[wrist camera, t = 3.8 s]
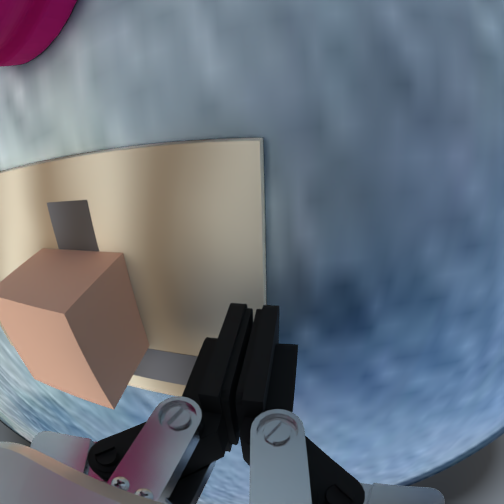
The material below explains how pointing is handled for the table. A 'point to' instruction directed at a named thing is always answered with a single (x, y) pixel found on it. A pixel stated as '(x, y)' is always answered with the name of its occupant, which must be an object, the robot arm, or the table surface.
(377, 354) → the table surface
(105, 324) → the block
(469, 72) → the table surface
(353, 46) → the table surface
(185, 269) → the board
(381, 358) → the table surface
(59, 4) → the pepper mill
